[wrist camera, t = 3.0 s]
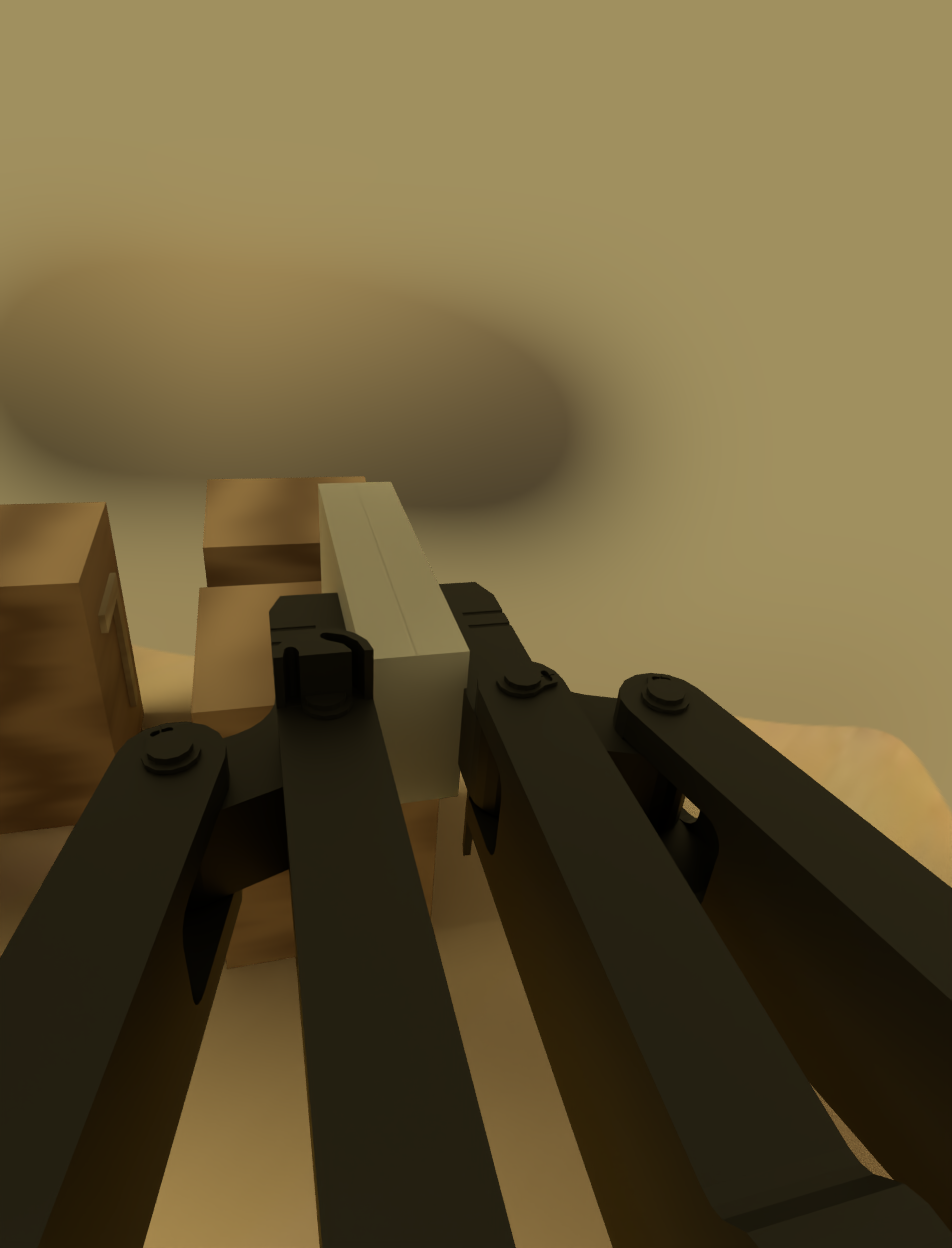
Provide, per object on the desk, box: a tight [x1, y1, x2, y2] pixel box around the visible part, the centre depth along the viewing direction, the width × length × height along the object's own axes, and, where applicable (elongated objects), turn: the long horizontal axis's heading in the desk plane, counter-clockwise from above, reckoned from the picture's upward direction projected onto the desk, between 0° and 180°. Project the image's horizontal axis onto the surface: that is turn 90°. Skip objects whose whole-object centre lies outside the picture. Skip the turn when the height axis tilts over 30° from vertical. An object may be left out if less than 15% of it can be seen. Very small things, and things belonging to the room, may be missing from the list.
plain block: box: [191, 581, 439, 969], centre depth 35 cm, size 9×9×14 cm
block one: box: [203, 477, 366, 587], centre depth 46 cm, size 9×9×14 cm
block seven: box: [0, 502, 144, 834], centre depth 40 cm, size 9×9×14 cm
